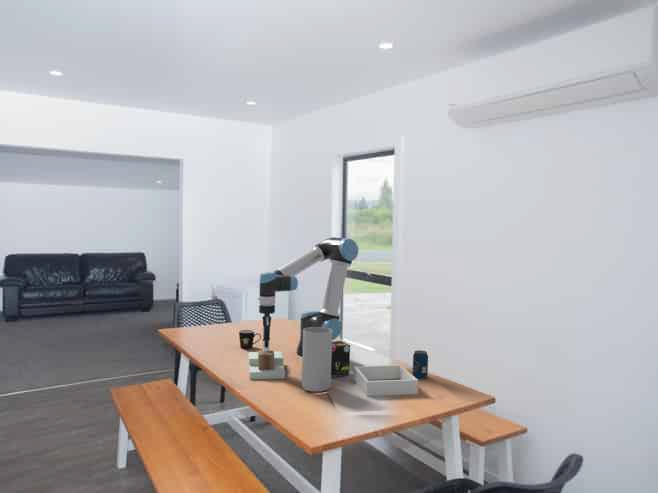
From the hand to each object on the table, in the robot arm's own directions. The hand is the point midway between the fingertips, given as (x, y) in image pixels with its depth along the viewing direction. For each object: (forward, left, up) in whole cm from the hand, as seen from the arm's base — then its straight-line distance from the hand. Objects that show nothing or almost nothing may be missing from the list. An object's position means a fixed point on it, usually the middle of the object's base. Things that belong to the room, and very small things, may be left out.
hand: (266, 353), depth 230 cm
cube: (0, +3, -1) cm, 4 cm away
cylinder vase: (-20, +27, -8) cm, 35 cm away
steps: (0, +2, -8) cm, 8 cm away
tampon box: (-32, +9, -8) cm, 34 cm away
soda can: (-71, +18, -8) cm, 74 cm away
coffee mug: (+7, -41, -8) cm, 42 cm away
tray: (-50, +29, -8) cm, 59 cm away
